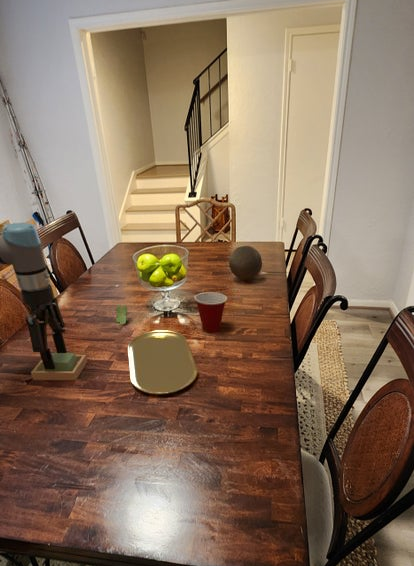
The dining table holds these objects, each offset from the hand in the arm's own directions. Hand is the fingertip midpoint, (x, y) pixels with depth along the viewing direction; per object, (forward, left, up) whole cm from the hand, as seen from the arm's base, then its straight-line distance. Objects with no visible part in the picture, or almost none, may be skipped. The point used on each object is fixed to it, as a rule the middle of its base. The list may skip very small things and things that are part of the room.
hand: (56, 360), depth 107 cm
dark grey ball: (+56, +72, -4) cm, 91 cm away
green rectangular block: (+1, 0, -3) cm, 3 cm away
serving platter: (+30, +5, -4) cm, 30 cm away
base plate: (+1, 0, -4) cm, 4 cm away
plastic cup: (+44, +26, -4) cm, 51 cm away
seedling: (+14, +36, -3) cm, 38 cm away
